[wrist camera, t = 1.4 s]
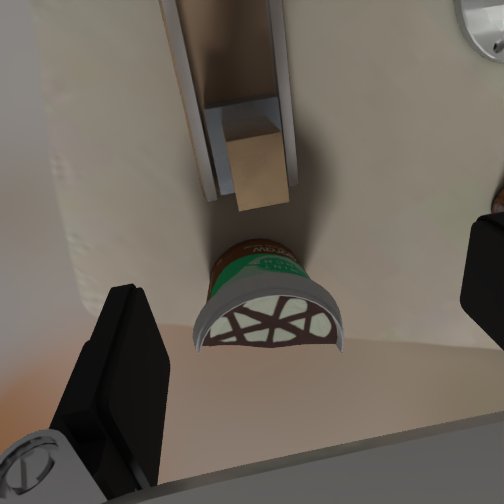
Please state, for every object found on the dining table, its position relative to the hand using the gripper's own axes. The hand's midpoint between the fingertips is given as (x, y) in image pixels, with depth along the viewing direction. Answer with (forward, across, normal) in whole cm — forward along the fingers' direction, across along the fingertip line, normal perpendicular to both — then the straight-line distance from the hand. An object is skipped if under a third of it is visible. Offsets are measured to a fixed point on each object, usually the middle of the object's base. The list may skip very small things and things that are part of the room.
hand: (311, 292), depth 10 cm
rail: (+22, 0, -5) cm, 23 cm away
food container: (+22, 0, +12) cm, 25 cm away
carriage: (+20, 0, 0) cm, 20 cm away
